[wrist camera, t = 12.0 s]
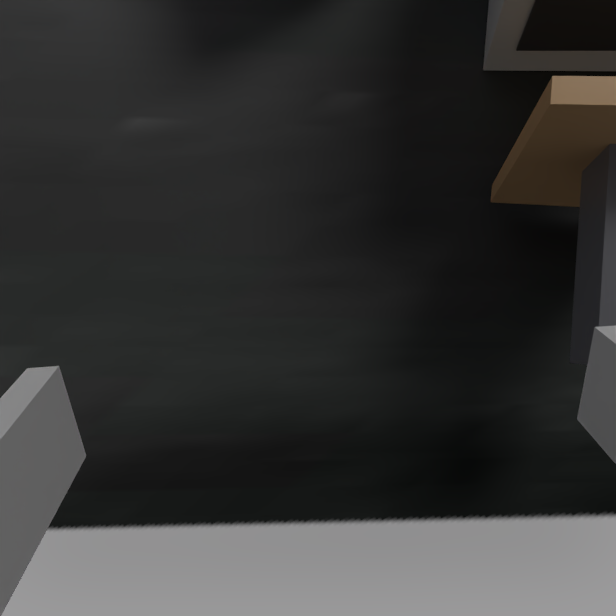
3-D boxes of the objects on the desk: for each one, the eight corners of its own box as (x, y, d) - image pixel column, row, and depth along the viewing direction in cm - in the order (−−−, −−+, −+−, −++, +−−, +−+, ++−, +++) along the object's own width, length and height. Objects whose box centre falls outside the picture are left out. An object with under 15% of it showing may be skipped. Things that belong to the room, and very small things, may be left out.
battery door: (478, 356, 27) (532, 354, 16) (491, 184, 28) (552, 75, 17) (650, 374, 26) (833, 384, 15) (659, 192, 27) (840, 78, 16)
